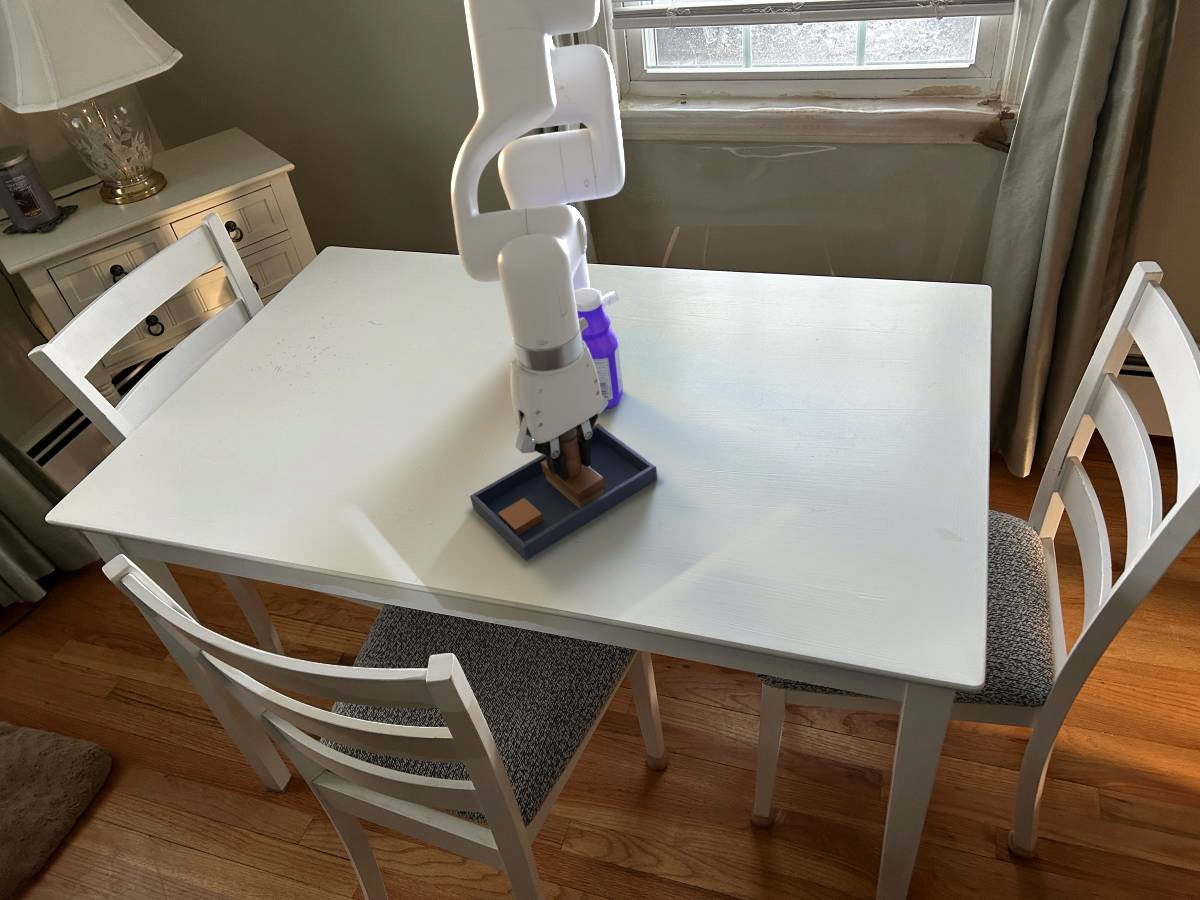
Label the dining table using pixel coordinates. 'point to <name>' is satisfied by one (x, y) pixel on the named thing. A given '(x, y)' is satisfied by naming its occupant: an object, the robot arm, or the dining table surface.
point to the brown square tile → (520, 516)
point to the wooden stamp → (575, 473)
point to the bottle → (601, 344)
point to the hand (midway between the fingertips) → (570, 466)
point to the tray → (560, 514)
